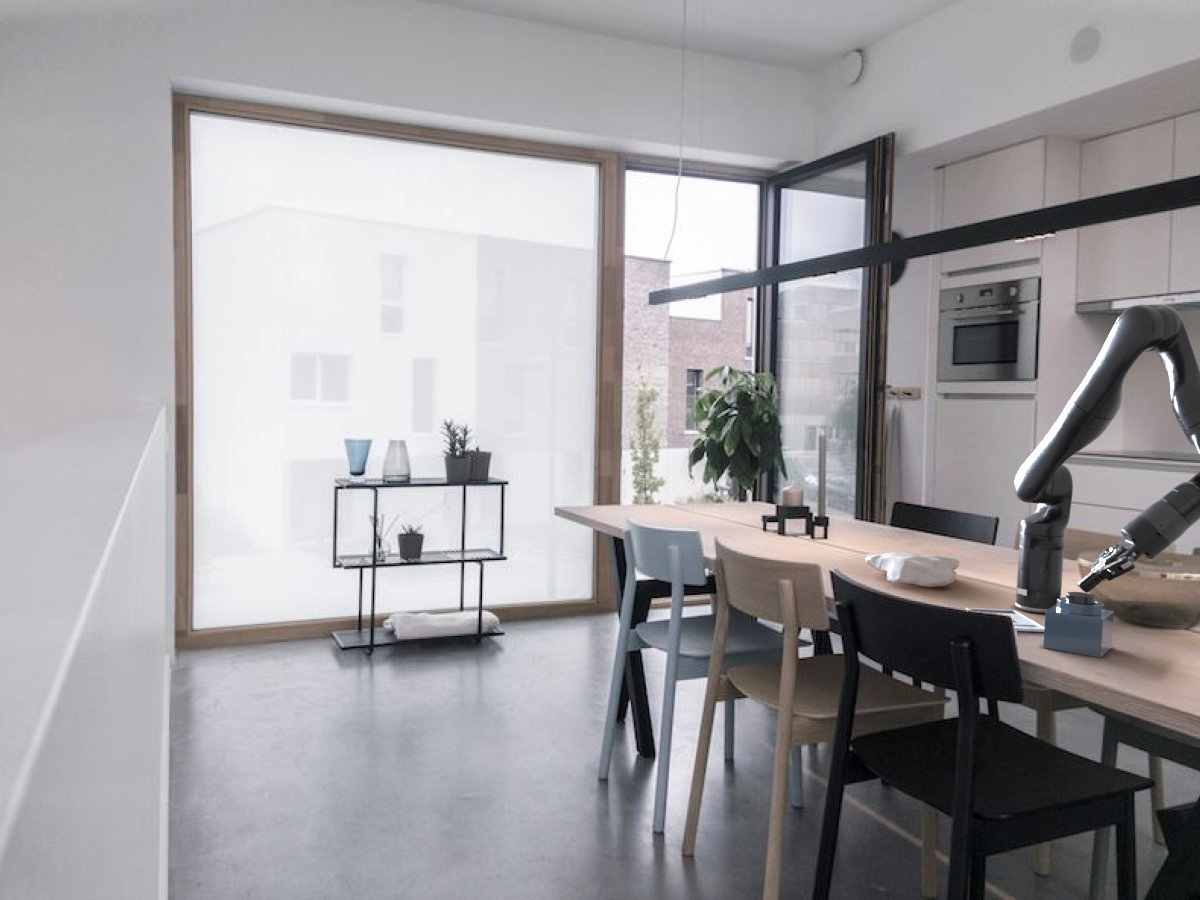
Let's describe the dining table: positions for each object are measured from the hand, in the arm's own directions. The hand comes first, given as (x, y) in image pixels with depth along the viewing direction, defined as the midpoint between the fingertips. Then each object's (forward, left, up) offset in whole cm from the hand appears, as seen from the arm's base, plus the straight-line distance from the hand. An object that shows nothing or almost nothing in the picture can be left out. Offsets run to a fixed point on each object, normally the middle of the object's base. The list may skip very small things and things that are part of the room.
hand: (1081, 588), depth 190 cm
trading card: (-13, -17, -12) cm, 24 cm away
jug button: (0, 0, -3) cm, 3 cm away
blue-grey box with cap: (0, 0, -11) cm, 11 cm away
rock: (-46, -49, -12) cm, 68 cm away
